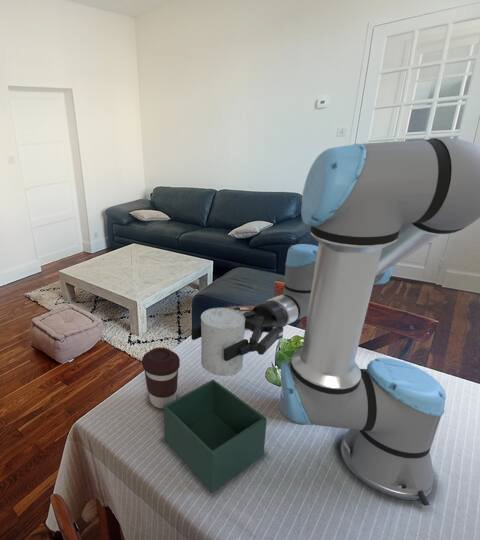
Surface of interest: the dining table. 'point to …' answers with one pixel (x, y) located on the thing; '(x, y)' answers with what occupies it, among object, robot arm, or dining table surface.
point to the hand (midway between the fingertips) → (207, 344)
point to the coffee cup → (161, 375)
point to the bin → (214, 433)
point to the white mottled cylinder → (221, 340)
